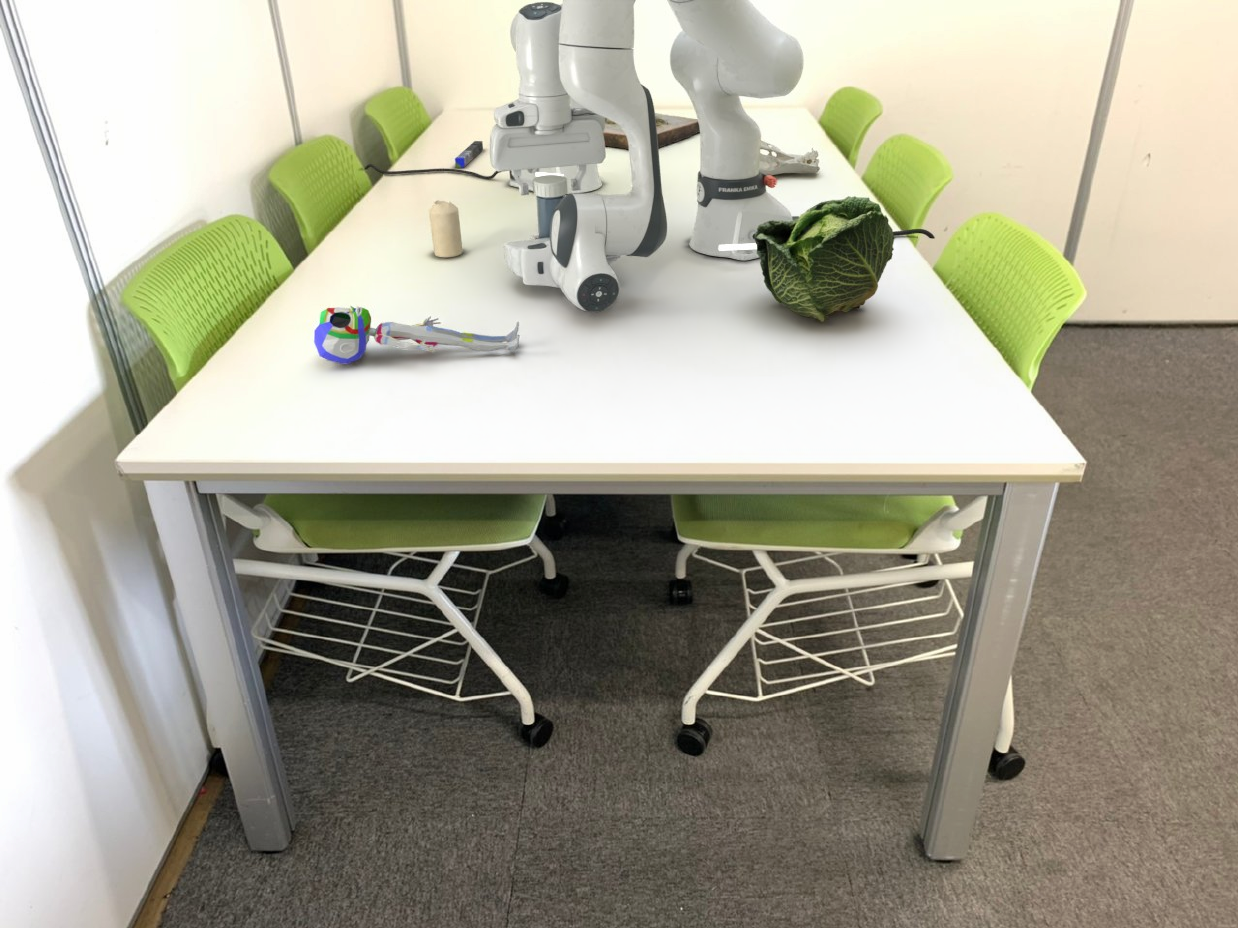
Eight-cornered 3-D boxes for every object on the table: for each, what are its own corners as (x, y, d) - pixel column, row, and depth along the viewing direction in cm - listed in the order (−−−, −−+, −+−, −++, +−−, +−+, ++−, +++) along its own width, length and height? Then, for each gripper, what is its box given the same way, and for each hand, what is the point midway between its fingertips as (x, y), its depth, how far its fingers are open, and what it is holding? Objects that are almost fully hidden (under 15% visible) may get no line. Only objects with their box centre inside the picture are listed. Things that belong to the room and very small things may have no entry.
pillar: (482, 141, 246) (462, 159, 229) (483, 149, 247) (463, 167, 230) (474, 141, 246) (454, 159, 230) (475, 149, 247) (455, 167, 231)
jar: (547, 261, 170) (542, 178, 162) (572, 264, 169) (568, 180, 161) (536, 270, 166) (530, 186, 158) (562, 273, 165) (558, 188, 157)
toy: (520, 333, 130) (306, 316, 126) (516, 385, 135) (309, 370, 130) (519, 307, 139) (319, 289, 134) (515, 356, 143) (321, 341, 139)
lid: (527, 195, 159) (526, 182, 158) (542, 186, 164) (542, 173, 162) (558, 199, 157) (558, 185, 156) (573, 190, 162) (572, 176, 160)
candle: (467, 249, 176) (462, 199, 171) (454, 259, 172) (448, 207, 167) (442, 247, 178) (436, 196, 172) (429, 256, 173) (422, 204, 168)
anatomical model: (720, 129, 225) (821, 128, 221) (719, 166, 230) (818, 165, 226) (716, 143, 213) (823, 142, 209) (716, 182, 218) (820, 182, 214)
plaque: (647, 125, 237) (559, 112, 252) (647, 153, 241) (560, 139, 256) (706, 107, 258) (622, 97, 273) (705, 133, 262) (622, 121, 277)
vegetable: (781, 336, 156) (729, 236, 148) (870, 275, 157) (823, 172, 149) (838, 357, 138) (781, 244, 130) (938, 287, 139) (888, 171, 131)
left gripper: (600, 103, 158) (602, 182, 165) (484, 111, 153) (491, 192, 161) (609, 110, 152) (610, 191, 160) (489, 118, 148) (496, 202, 155)
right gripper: (628, 237, 155) (604, 214, 167) (513, 250, 150) (496, 226, 161) (629, 272, 159) (605, 247, 170) (516, 286, 153) (499, 260, 165)
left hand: (550, 192), depth 160 cm, fingers open, 8 cm apart
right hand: (551, 237), depth 166 cm, fingers closed on jar, 5 cm apart
